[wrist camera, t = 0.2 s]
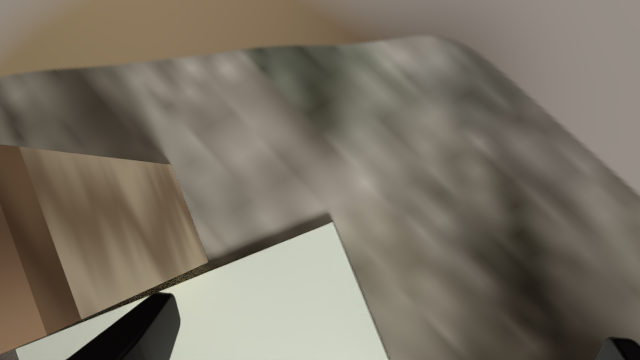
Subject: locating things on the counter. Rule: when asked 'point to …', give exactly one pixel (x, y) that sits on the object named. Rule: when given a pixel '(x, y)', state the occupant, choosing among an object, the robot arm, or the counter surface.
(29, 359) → the sage mat
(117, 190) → the birch block
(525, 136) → the counter surface
